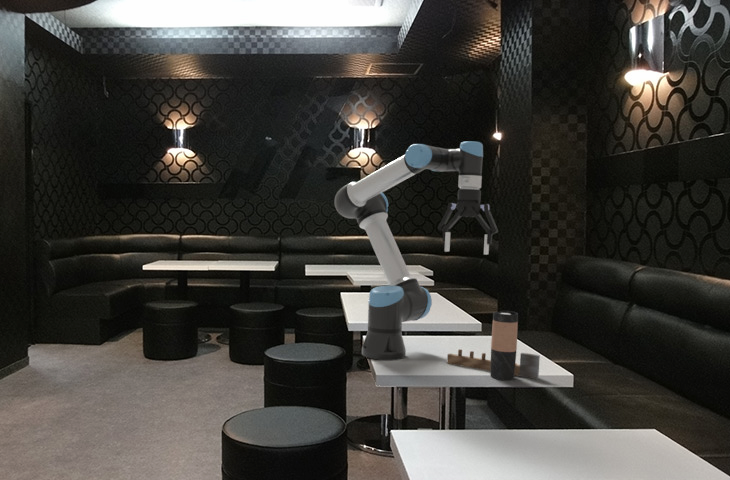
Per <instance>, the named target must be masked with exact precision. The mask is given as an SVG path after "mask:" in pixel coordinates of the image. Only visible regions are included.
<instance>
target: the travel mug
mask: <svg viewBox="0 0 730 480" xmlns="http://www.w3.org/2000/svg"><path fill="white" fill-rule="evenodd" d="M518 323H519V313H518V312H515V311H511V310H500V311H498V312H495V311H493V313H492V327H491V328H492V329H491V343H490V344H491V345H490V360H491V371H490V377H491V378H493V379H496V380H500V381H511V380H514V379H515V375H514V373H515V363H517V362H516V361H517V349H518V347H517V346H518V327H519V325H518Z"/></svg>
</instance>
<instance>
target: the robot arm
mask: <svg viewBox="0 0 730 480" xmlns="http://www.w3.org/2000/svg"><path fill="white" fill-rule="evenodd" d="M483 158H484V145H483V143H482V142H480V141H474V140H473V141H471V140H470V141H469V140H468V141H462V142H460V144H459V148H442V147H437V146H432V145H428V144H424V143H413V144H411V145H410V146H408V148H407V149H406V151H405V154H403V155H402V156H399V157H398V158H397V159H395V160H392V161H391V162H389V163H387V164H386V165H384V166H382V167H380V168H379V169H378V170H376V171H374V172H372V173H370V174H369V175H367V176H365V177H363V178H362V179H360V180H358V181H351V182H349V183H347V184H346V185H344V186H342V187H341V188H340V189H338V191H337V192H336V194H335V196H334V207H335V209H336V212H337V213H338V214H339V215H340V216H342V217H344V218H346V219H351V220H352V219H354V220H356V223H357V224H358V226H359V228H360V229H362V230H364V231H365V232H366V234H367V236H368V240H369V241H370V244H371V247H372V249H373V251H374V253H375V255H376V258H377V260H378V263H379V264H380V266H381V269H382V271H383V274H384V276H385V279H386V281H387V284H388V285H380V286H376V287H374V288H372V289H371V290H370V291H369V296H368V311H367V313H368V315H367V332H366V335H365V338H364V341H363V343H362V347H361V355H362V356H363V357H365V358H368V359H373V360H382V361H396V360H402V359H405V357H406V352H407V349H406V346H405V342H404V339H403V334H402V330H403V329H402V327H403V323H406V322H410V321H411V322H412V321H418V320H420V319H423V318H425V317H426V316H427V315H428V314H429V313H430V311H431V308H432V305H433V304H432V303H433V302H432V300H433V299H432V296H431V294H430V291H429V290H428V289H426V288H424V287H423V286H420V284H419V281H418V279H417V278H416V277H413V276H411V274H410V271H409V269H408V268H407V265H406V261H405V260H404V258H403V256H402V254H401V253H402V252H400V249H399V246H398V244H397V242H396V240H395V238H394V235H393V233H392V230H391V229H390V227H389V224H388V221H387V219H388V216H389V214H388V211H389V208H388V207H389V202H388V197H386V194H384V192H386V191H388V190H389V189H392V188H393V187H395V186H397V185H399V184H400V183H402V182H404V181H405V180H407V179H409V178H411V177H413V176H415V175H417V174H419V173H421V172H423V171H424V170H430V171H432V172H440V173H442V172H458V182H457V183H458V184H457V185H458V188H459V189H458V190H457V203H454V202H448V203H447V209H446V211H445V213H444V215H443V216H442V218H441V220H440V222H439V224H438V227H437V229H438V230H439V231H442V241H443V242H444V252H445V253H447V252H450V247H451V231H450V230H451V229H452V227H454V225H455V224H456V223H457V222H458V221H459V220H460V219H461V218H468V217H469V218H475V219H476V220H477V222H478V223H479V224H480V226H481V227H482V228H483V230H484V231H485V233H486V234H484V238H483V239H484V244H483V255H486V256H487V255H489V251H490V245H492V243H493V235H494V234H497V233H498V232H499V229H498V227H497V225H496V222H495V219H494V217H493V215H492V212H491V205H490V204H489V203H485V204H481V201H482V200H481V199H482V198H481V197H482V190H480V189H481V188H482V179H483V176H482V175H483V174H482V172H483V161H484V160H483ZM455 209H456V210H457V212H455V214H454V216H453V217H452V218H451V220H450V217H451V216H452V214H453V211H454V210H455ZM480 210H482V211H483V213H485V214H484V215H485V217H486V219H487V221H488V223H489V225H488V223H487V222H486V221H485V219H484V218H483V217H482V215H481V214H480Z"/></svg>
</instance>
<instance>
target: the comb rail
mask: <svg viewBox="0 0 730 480" xmlns="http://www.w3.org/2000/svg"><path fill="white" fill-rule="evenodd" d="M486 356H487V355H486V352H482V353H481V358H480V357H474V351H471V350H470V351H469V356H467V355H463V349H458V350H457V354H453V353H448V354H447V359H446V360H447V361H446V363H447V364H449V365H454V364H455V365H456V366H460V365H462V366H461V367H467V368H471V367H472V368H471V369H477V368H478V370H484V371H490V372H491V359H486ZM519 357H520V358H519V364H517V362H515V373H514V376H520V377H525V378H530V379H531V378H533V379H536V380H537V379H539V375H540V374H539V372H540V360H541V359H540V355H539V354H532V353H528V352H521V353H520V356H519Z"/></svg>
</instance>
